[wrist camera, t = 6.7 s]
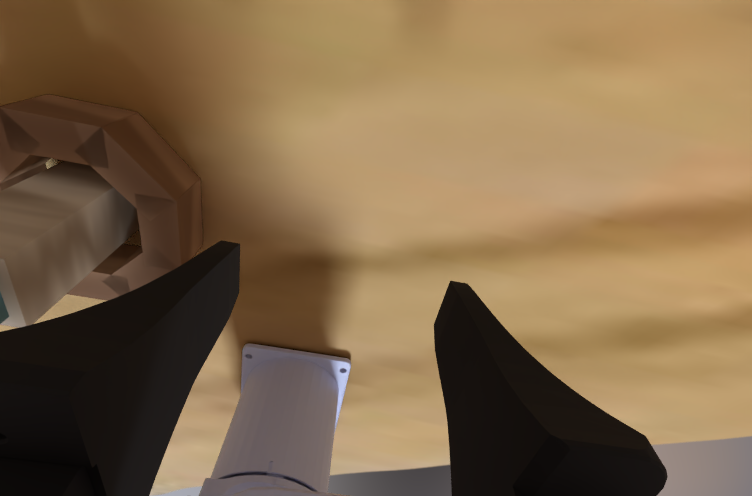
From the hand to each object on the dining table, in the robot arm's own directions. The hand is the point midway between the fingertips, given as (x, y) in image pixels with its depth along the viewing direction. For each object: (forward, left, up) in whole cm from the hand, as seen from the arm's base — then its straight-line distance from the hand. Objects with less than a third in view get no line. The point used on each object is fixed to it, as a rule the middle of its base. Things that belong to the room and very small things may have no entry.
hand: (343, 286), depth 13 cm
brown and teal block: (-4, +14, -10) cm, 18 cm away
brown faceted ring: (-4, +14, -10) cm, 18 cm away
